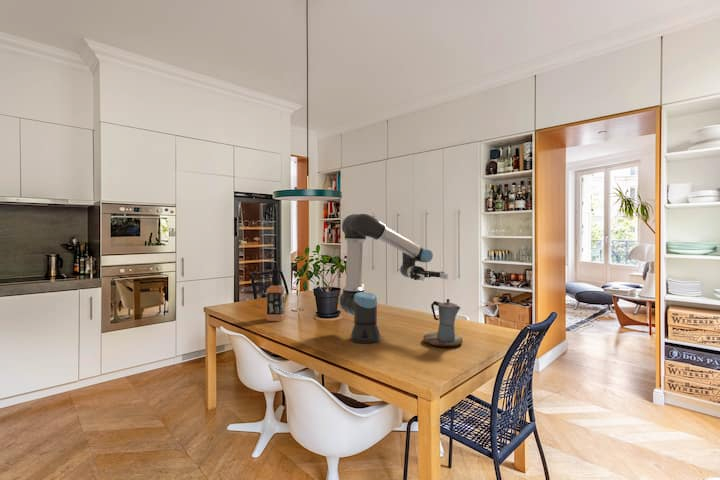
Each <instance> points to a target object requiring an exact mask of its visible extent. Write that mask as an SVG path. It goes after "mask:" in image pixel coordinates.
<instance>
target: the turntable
mask: <svg viewBox="0 0 720 480" xmlns="http://www.w3.org/2000/svg"><path fill="white" fill-rule="evenodd" d="M437 334H438V331H434V332H428V333H425V334H423V341H424V342H425V343H428V344H429V345H431V344H433V345H432V346H434V345H438V346H453V347H455V345H456V346H459V345H461V344H462V343H463V337H462V336H461V335H459V334H456V333H455V341H453V342H444V341H440V340H438V339H437ZM438 346H437V347H438Z"/></svg>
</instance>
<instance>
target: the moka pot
mask: <svg viewBox="0 0 720 480" xmlns="http://www.w3.org/2000/svg"><path fill="white" fill-rule="evenodd" d="M450 301H451V300H450V299H449V298H447V299H446V302H440V301H435V300H434V301H433V302H432V303H431V304H430V306H431V311H432V315H433V319H434V320H435V321H439V324H438V330H437V332H438V334H437V339H438V340H440V341H444V342H453V341H455V334H456V333H455V323H456V322H455V321H456V317H457V314H458V312H459V311H460V310H461V307H460V306H459V305H458V304H457V303H453V302H450ZM434 305H435V306H437V308H438V317H437V316H436V312H435V307H434Z"/></svg>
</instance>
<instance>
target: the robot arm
mask: <svg viewBox="0 0 720 480" xmlns="http://www.w3.org/2000/svg"><path fill="white" fill-rule="evenodd" d="M341 230H342V232H343V233H344V240H345V241H346V265H345V266H346V268H345V286H343V288H342V293H341V294H340V296H339V298H338V304H339V306H340V308H341V310H343V311H344V312H345V313H346V314H347V313H348V314H351V315H353V316H354V317H353V321H354V322H353V323H354V324H353V328H352V330H351V334H350V341H352V342H354V343H357V344H373V343H379V341H380V340H381V334H380V330H379V327H378V318H377V317H378V316H377V315H378V299H377V298H378V297H377V296H376V295H375V294H374V293H371V292H368V291H365V289H364V288H363V286H362V274H363V253H364V251H363V249H364V242H365V241H366V240H367V237H368V238H372V239H374V240H375V241H377V240H380V241H382V242H383V243H385V244H387V245H389V246H391V247H392V248H394V249H396V250H398V251H400V252H401V253H402V264H401V265H400V268H399V272H400V274H401V275H402V276H404V277H406V278H409V279H412V280H414V281H425V278H431V277H432V278H440V279H443V280H448V279H449V277H448V276H449V275H448V273H445V272H444V271H433V270H425V268H424V267H422V266H418V265H416V262H420V263H430V262H431V261H432V260H433V257H434V253H433V252H432V251H433V250H431V249H429V248H425V247H422V246H420V245H419V244H417V243H415V242H413V241H412V240H410V239H408V238H407V237H404V236H402V234H400V233H398V232H396V231H394V230H393V229H390V228H389V227H387V225H386V224H385V223H384V222H382V221H380V220H379V219H377V218H376V217H373V216H372V215H370V214H366V213H360V214H359V213H358V214H356V213H355V214H354V213H352V214H349V215H347V216H345V218H344V219H343V220H342V222H341Z"/></svg>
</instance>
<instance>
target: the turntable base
mask: <svg viewBox="0 0 720 480" xmlns="http://www.w3.org/2000/svg"><path fill="white" fill-rule="evenodd" d="M431 345H432V346H434V347H439V348H451V347H455V346H456V347H457V345H455V346H438V345H433V344H430V346H431Z"/></svg>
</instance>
